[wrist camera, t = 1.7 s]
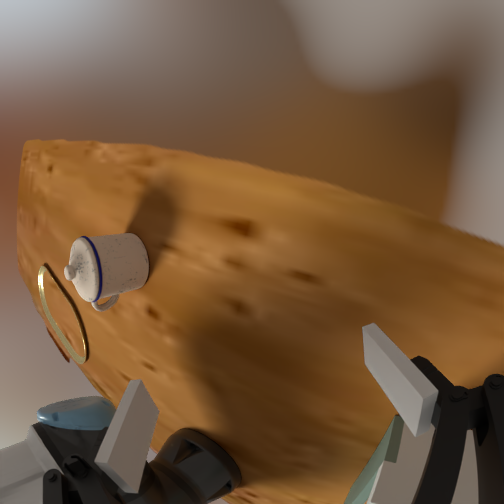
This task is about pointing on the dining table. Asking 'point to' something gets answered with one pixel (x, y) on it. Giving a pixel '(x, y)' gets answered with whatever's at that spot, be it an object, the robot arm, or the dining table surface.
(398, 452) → the grey-green angled panels
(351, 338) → the dining table surface
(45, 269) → the brass wire loop
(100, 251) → the teacup with lid
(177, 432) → the robot arm
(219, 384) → the dining table surface
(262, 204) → the dining table surface
